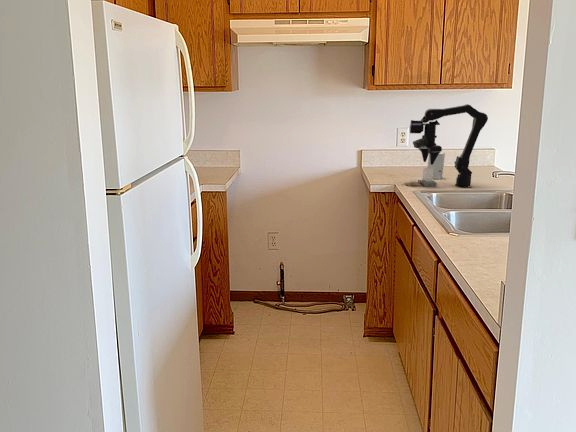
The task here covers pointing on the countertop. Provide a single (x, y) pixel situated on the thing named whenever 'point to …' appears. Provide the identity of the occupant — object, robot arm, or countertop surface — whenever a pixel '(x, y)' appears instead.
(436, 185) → the square metal frame
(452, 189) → the countertop surface
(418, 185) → the walnut pad
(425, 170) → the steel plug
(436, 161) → the skincare box
